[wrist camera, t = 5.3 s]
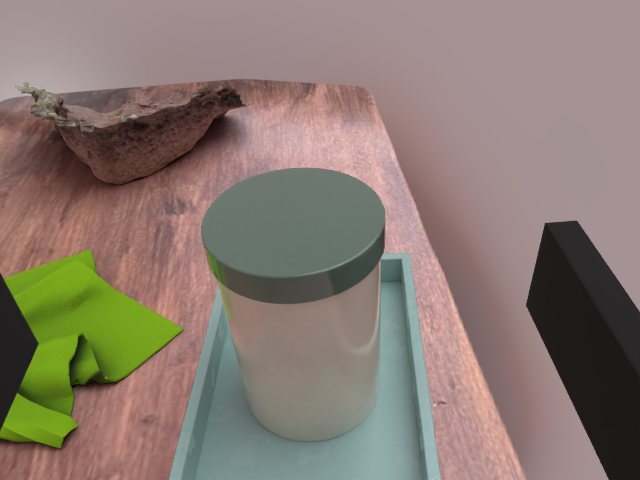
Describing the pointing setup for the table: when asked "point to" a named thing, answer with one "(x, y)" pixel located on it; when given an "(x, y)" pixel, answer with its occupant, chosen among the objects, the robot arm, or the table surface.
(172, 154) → the rock
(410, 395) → the teal and tan box
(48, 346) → the cloth
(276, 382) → the jar
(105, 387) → the table surface
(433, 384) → the table surface
